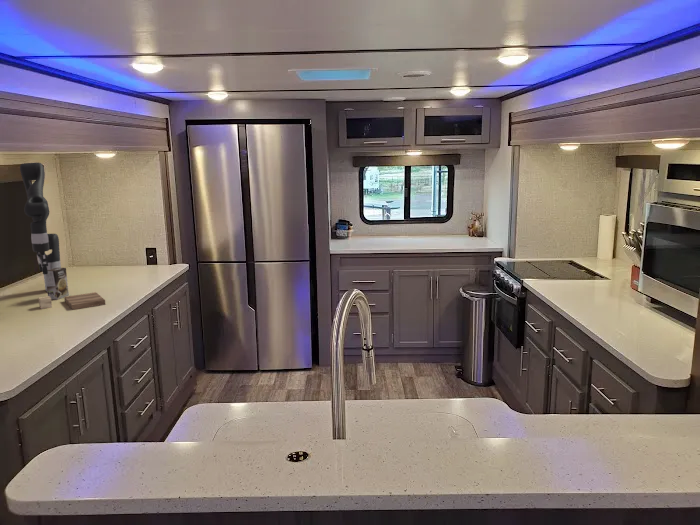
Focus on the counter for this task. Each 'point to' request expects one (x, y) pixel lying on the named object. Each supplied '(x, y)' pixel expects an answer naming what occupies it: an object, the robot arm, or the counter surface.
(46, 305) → the maple cube
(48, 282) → the coffee box
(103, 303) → the walnut base
